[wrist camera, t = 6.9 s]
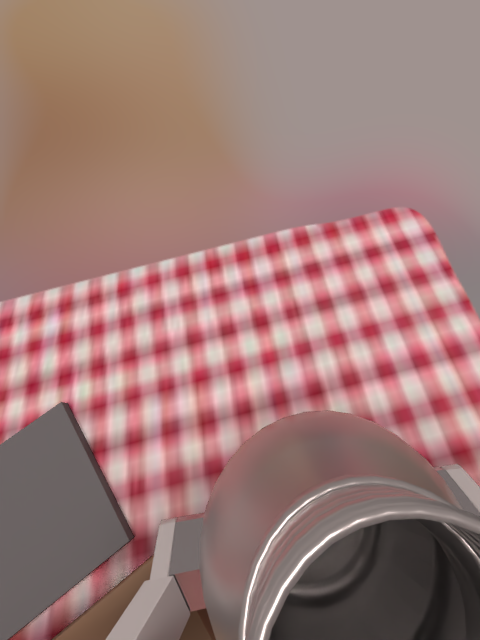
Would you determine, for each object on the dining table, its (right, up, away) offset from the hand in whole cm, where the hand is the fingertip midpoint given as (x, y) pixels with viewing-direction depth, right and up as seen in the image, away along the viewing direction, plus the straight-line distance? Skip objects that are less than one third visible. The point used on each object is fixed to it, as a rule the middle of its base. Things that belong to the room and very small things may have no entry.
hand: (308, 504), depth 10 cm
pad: (-17, -8, +12) cm, 22 cm away
